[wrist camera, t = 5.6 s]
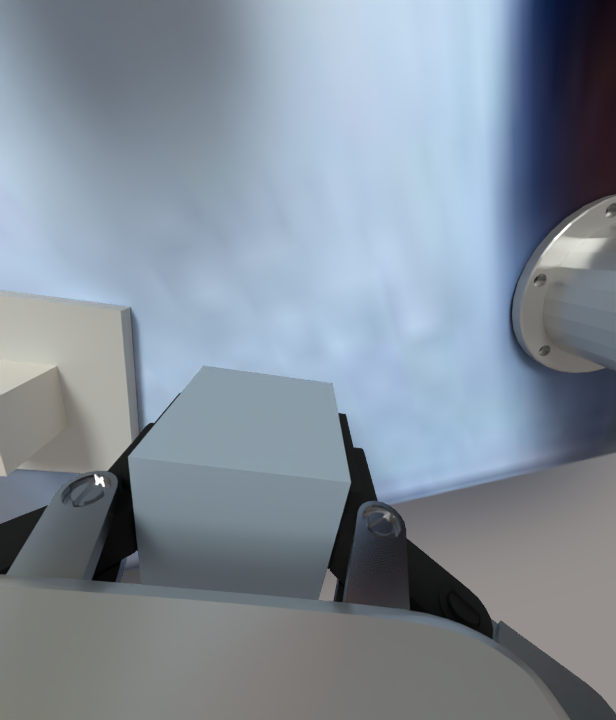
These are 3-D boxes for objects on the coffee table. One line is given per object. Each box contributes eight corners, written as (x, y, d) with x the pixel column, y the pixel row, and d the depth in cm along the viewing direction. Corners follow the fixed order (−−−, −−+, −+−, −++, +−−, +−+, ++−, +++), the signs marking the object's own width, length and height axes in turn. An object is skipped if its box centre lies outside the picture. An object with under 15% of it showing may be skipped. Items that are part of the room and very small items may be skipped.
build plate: (130, 307, 20) (120, 310, 19) (141, 466, 25) (134, 477, 24) (-103, 276, 18) (-129, 278, 17) (-40, 453, 23) (-57, 463, 22)
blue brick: (332, 383, 11) (350, 482, 7) (312, 479, 13) (315, 609, 8) (203, 365, 11) (127, 457, 6) (201, 467, 13) (142, 595, 8)
